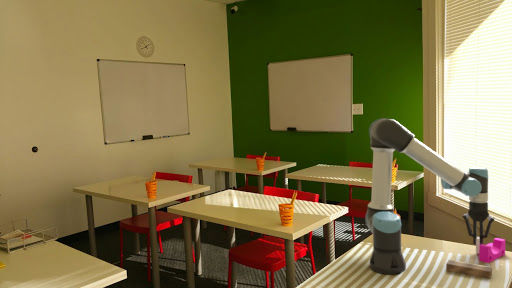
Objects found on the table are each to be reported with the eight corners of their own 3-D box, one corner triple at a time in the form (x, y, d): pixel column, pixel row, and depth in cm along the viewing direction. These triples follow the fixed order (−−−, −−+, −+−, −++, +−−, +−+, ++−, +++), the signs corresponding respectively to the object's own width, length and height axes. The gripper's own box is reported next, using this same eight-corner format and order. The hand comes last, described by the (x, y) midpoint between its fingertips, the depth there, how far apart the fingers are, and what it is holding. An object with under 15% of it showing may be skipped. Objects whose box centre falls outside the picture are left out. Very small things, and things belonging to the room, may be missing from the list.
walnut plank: (446, 270, 168) (446, 263, 168) (448, 266, 172) (448, 259, 172) (490, 278, 158) (490, 271, 158) (491, 274, 162) (491, 267, 162)
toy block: (490, 252, 187) (490, 236, 186) (505, 255, 182) (505, 239, 181) (473, 259, 179) (473, 243, 178) (488, 264, 174) (488, 247, 173)
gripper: (460, 201, 183) (460, 251, 185) (493, 204, 176) (493, 256, 178) (464, 198, 189) (464, 246, 191) (496, 200, 182) (495, 251, 183)
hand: (478, 251), depth 184 cm, fingers closed
